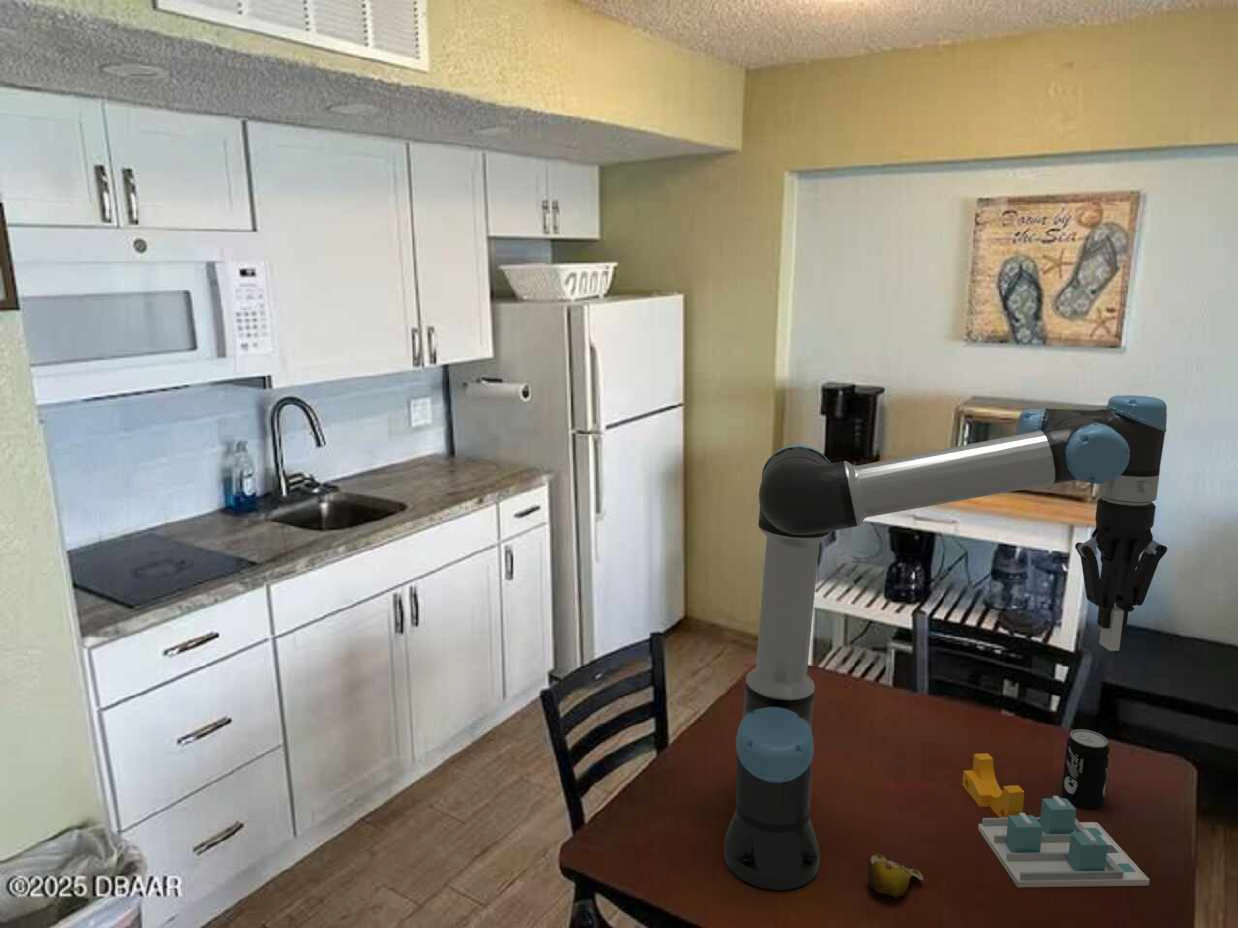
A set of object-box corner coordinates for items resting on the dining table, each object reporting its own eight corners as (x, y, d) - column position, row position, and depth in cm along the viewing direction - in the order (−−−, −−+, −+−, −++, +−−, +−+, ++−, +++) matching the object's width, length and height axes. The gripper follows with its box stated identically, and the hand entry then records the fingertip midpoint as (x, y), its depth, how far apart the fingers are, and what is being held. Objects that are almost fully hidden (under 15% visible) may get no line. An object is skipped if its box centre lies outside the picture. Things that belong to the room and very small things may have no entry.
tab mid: (1014, 855, 131) (1017, 823, 130) (1005, 843, 134) (1008, 812, 133) (1039, 855, 131) (1042, 823, 130) (1030, 842, 134) (1033, 811, 133)
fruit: (926, 875, 128) (927, 855, 127) (909, 910, 122) (910, 889, 121) (873, 854, 133) (874, 834, 132) (854, 886, 127) (855, 866, 126)
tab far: (1048, 836, 136) (1051, 806, 135) (1039, 825, 139) (1042, 795, 137) (1073, 836, 136) (1076, 805, 135) (1063, 825, 139) (1066, 794, 137)
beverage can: (1102, 814, 143) (1109, 751, 141) (1059, 802, 147) (1066, 740, 144) (1104, 795, 149) (1111, 734, 146) (1062, 784, 152) (1069, 724, 150)
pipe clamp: (962, 786, 152) (964, 754, 151) (984, 785, 153) (987, 753, 151) (996, 827, 140) (999, 793, 139) (1021, 826, 141) (1024, 791, 140)
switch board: (1017, 887, 126) (1019, 874, 126) (978, 828, 140) (979, 817, 139) (1148, 885, 126) (1150, 872, 126) (1096, 827, 140) (1097, 815, 140)
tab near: (1078, 873, 127) (1082, 841, 126) (1067, 860, 130) (1071, 828, 129) (1104, 873, 127) (1108, 841, 126) (1093, 860, 130) (1096, 828, 129)
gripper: (1097, 506, 121) (1080, 657, 125) (1186, 505, 121) (1166, 656, 125) (1069, 494, 128) (1054, 637, 133) (1153, 493, 128) (1136, 636, 133)
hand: (1109, 646), depth 129 cm, fingers closed
